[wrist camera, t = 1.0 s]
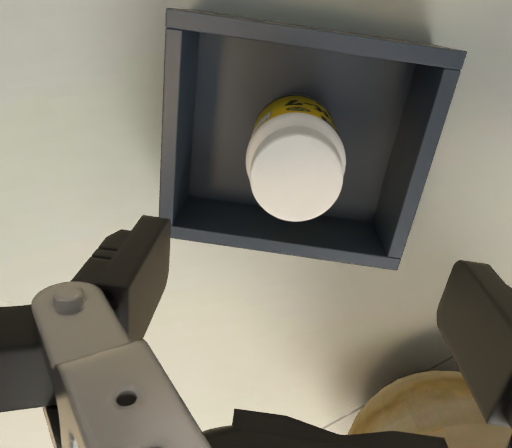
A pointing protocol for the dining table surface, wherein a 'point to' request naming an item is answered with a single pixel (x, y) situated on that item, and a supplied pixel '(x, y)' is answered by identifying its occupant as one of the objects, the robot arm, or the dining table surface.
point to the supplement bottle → (295, 158)
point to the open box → (339, 107)
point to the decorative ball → (431, 411)
